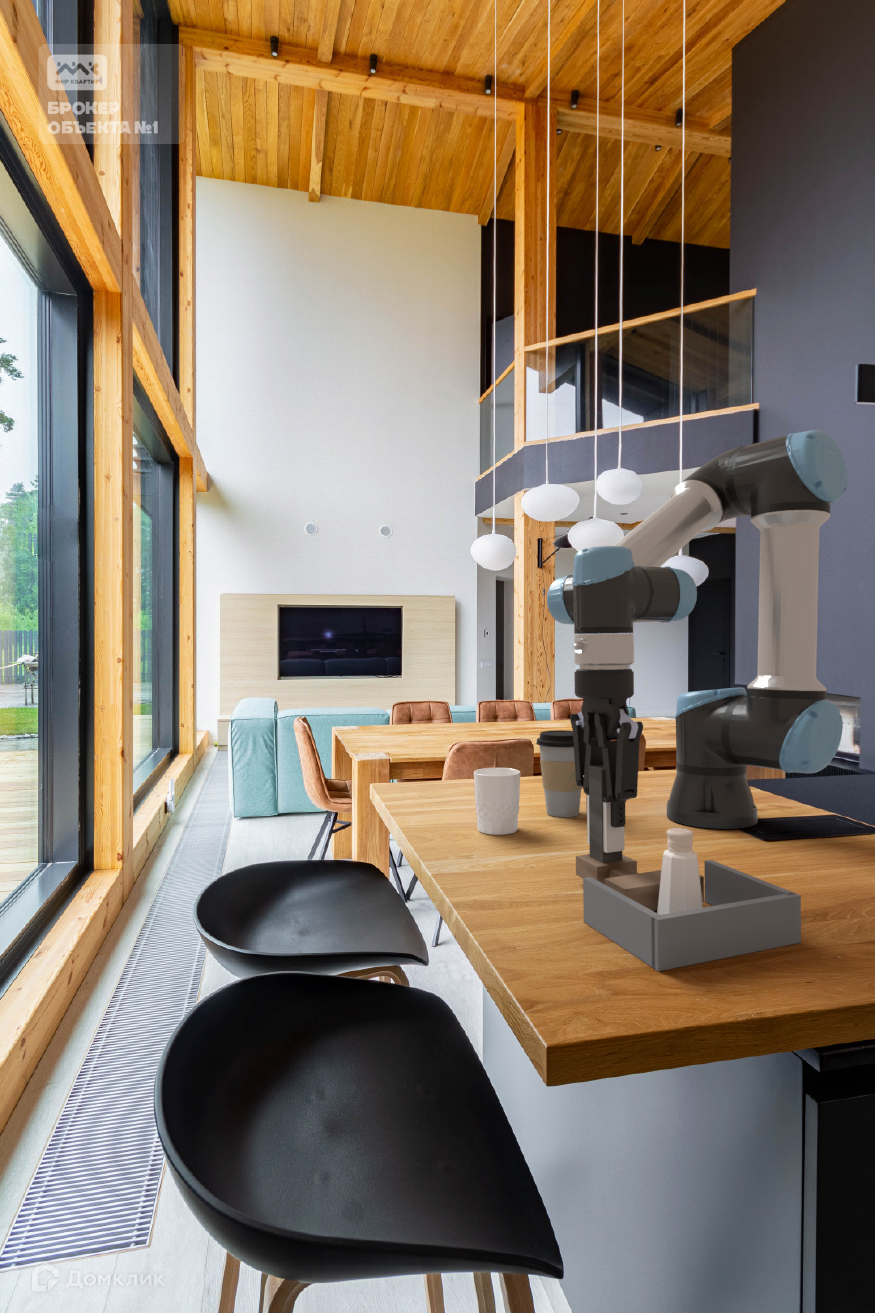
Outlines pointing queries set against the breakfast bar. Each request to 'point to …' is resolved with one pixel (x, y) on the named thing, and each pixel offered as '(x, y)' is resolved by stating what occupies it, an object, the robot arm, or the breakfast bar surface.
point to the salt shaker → (679, 874)
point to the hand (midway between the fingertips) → (605, 846)
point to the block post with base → (615, 855)
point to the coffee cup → (559, 773)
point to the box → (698, 920)
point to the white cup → (497, 800)
